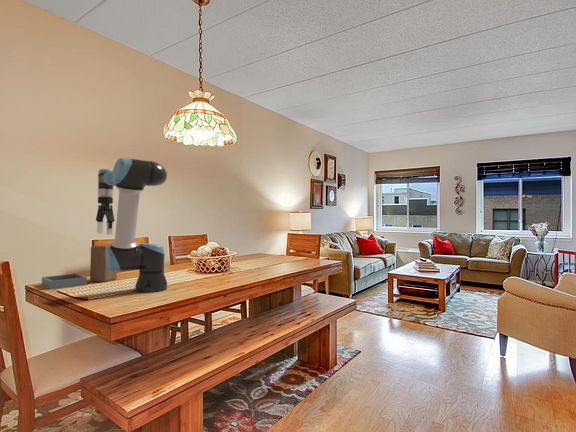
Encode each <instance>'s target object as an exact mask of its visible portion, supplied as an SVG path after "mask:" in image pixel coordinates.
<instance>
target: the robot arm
mask: <svg viewBox="0 0 576 432" xmlns="http://www.w3.org/2000/svg"><path fill="white" fill-rule="evenodd" d="M97 177H98V178H97V179H98V180H97V196H98V197H97V204H98V206H97V213H96V217H95V221H97V229H96V231H97V232H96V233H97V234H104V230H103V229H104V217H105V218H106V235H107V236H108V235H113V223H114V222H115V215H114V209H113V205H112V204H114V198H113V197H114V187H115V188H116V189H117V190H118V201H117V212H116V222H115V234H114V239H113V240H112V241H111V242H110V245H111V246H110V247H108V248H106V262H107V266H108V268H109V270H110V271H112V272H117V273H118V272H126V271H127V272H129V271H138V270H139V273H138V278H137V280H136V283H135V286H134V290H135V292H140V293H154V292H155V293H156V292H161V291H165V290H167V289H168V281H167V279H166V275H165V255H166V254H165V247H164V245H162V244H157V243H156V244H155V243H145V242H141V243H139V245H138V243H137V242H136V234H137V233H136V232H137V221H138V213H139V202H140V201H139V200H140V194H141V192H143V191H144V188H145V187H146V186H147V187H149V186H150V187H151V186H152V187H153V186H154V187H155V186H160V185H162V184H164V183H165V182H166V180H167V178H168V173H167V171H166V169H165V167H164V166H163V165H161V164H160V163H158V162H156V161H152V160H151V161H150V160H142V159H138V158H137V159H135V158H129V157H128V158H127V157H121V158H118V159H117V160H116V162H115V163H114V166H113V169H107V168H101V169H99V170H98V174H97Z"/></svg>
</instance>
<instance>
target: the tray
mask: <svg viewBox="0 0 576 432" xmlns="http://www.w3.org/2000/svg"><path fill="white" fill-rule="evenodd" d="M87 281H88V277H87V276H84V275H82V274H79V273H70V274H60V275H59V274H58V275H52V276H51V275H49V276H42V277H41V286H43V287H45V288H47V289H49V290H50V291H51V290H56V289H64V288H73V287H80V286H81V287H82V286H86V285H88V284H87V283H88V282H87Z"/></svg>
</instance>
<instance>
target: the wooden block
mask: <svg viewBox="0 0 576 432" xmlns="http://www.w3.org/2000/svg"><path fill="white" fill-rule="evenodd" d="M110 246H111V244H96V245H91V247H90V263H89V264H90V266H89V267H90V270H89V272H90V273H89V280H90V282H99V283H106V282H111V281H115V280H117V278H118V271H117V272H112V271H110V270H109V268H108V266H107V262H106V248H108V247H110Z"/></svg>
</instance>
